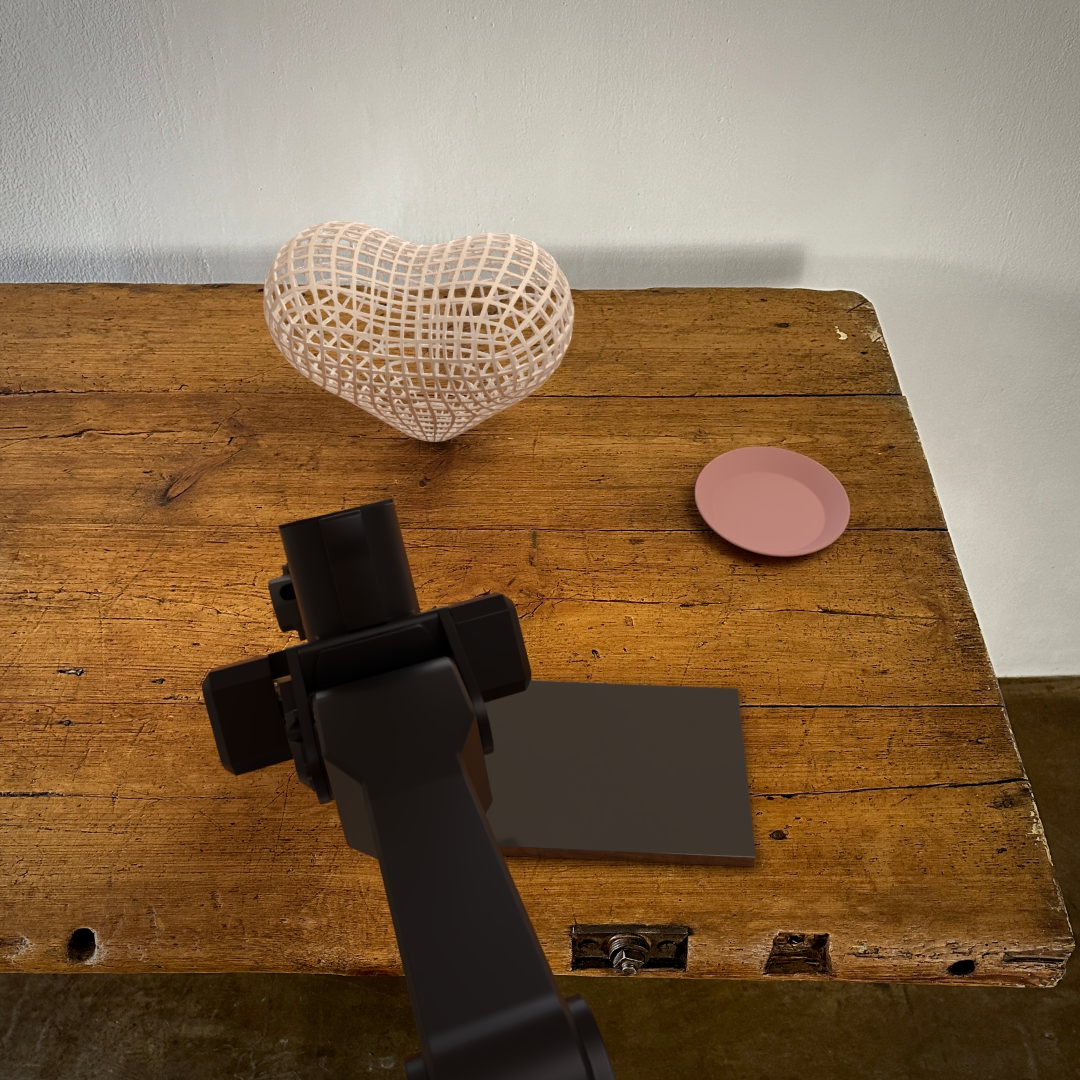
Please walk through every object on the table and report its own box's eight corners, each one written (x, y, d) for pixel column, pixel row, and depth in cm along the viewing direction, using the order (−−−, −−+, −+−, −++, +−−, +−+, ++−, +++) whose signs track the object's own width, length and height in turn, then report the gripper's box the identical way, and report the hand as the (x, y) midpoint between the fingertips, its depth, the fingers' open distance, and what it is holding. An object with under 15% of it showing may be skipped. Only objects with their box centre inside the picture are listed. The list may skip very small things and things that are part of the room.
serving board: (752, 867, 68) (756, 857, 67) (470, 854, 69) (469, 844, 68) (735, 698, 78) (737, 688, 77) (486, 688, 78) (485, 678, 77)
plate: (842, 582, 86) (847, 568, 85) (682, 553, 88) (685, 538, 87) (847, 474, 95) (852, 459, 94) (702, 450, 98) (705, 435, 96)
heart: (275, 476, 95) (221, 278, 79) (321, 377, 105) (281, 184, 89) (559, 505, 92) (564, 307, 76) (577, 401, 103) (585, 207, 86)
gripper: (513, 510, 53) (466, 515, 68) (159, 598, 49) (193, 582, 64) (561, 706, 53) (504, 668, 69) (216, 810, 49) (237, 745, 64)
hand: (364, 662), depth 66 cm, fingers closed on ice cream cone, 5 cm apart
